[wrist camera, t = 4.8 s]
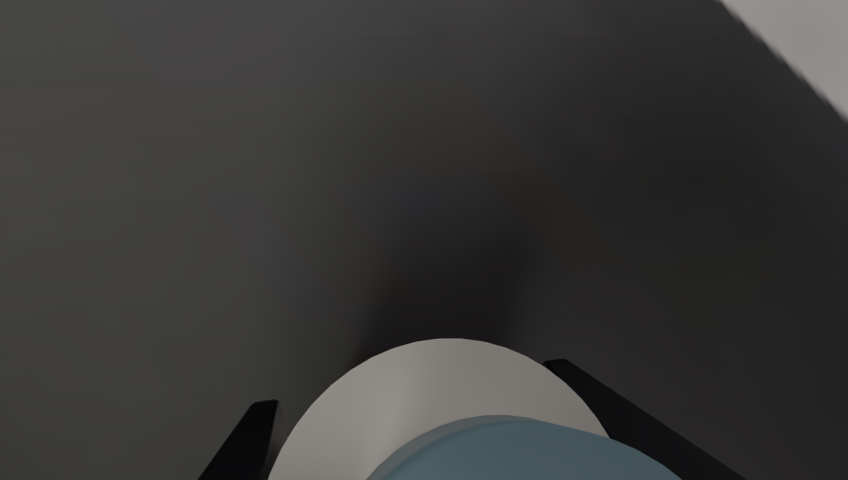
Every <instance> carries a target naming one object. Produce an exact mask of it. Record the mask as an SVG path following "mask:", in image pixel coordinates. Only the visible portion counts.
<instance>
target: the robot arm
mask: <svg viewBox="0 0 848 480" xmlns="http://www.w3.org/2000/svg"><path fill="white" fill-rule="evenodd" d="M542 366H544V367H545V368H547V369H548V370H549V371H551V372H552V373H553V374H555V375H556V376H557V377H558V378H560V379H561V380H562V381H564V382H565V383H566V384H567V385H568V386H569V387H570V388H571V389H572V390H573V391H574V392H575V393H576V394H577V395H578V396H579V397H580V398H581V399H582V400H583V401H584V403H585V404H586V405H587V406H588V407H589V409H590V410H591V411H592V412H593V414H594V415H595V416H596V417H597V419H598V420H599V422H600V424H601V425H602V427H603V428H604V430H605V432H606V433H607V435H608V436H609V438H611V439H613V440H615V441H618V442H620V443H622V444H625V445H627V446H629V447H632V448H634V449H637V450H638V451H640V452H642V453H643V454H645V455H647V456H648V457H650V458H652V459H654V460H655V461H657V462H659V463H660V464H662V465H664V466H665V467H666V468H667V469H669V470H670V471H671V472H673V473H674V474H675V475H677V476H678V477H679V478H681V479H682V480H746V479H745V478H743V477H742V476H740V475H739V474H737V473H736V472H734V471H733V470H731V469H730V468H728V467H727V466H725V465H724V464H722V463H721V462H719V461H718V460H716V459H715V458H713V457H712V456H710V455H709V454H707V453H706V452H704V451H703V450H701V449H700V448H698V447H697V446H695V445H694V444H692V443H691V442H689V441H688V440H686V439H685V438H683V437H682V436H680V435H679V434H677V433H676V432H674V431H673V430H671V429H670V428H668V427H667V426H665V425H664V424H662V423H661V422H659V421H658V420H656V419H655V418H653V417H652V416H650V415H649V414H647V413H646V412H644V411H643V410H641V409H640V408H638V407H637V406H635V405H634V404H632V403H631V402H629V401H628V400H626V399H625V398H623V397H622V396H620V395H619V394H617V393H616V392H614V391H613V390H611V389H610V388H608V387H607V386H605V385H604V384H602V383H601V382H599V381H598V380H596V379H595V378H593V377H592V376H590V375H589V374H587V373H586V372H584V371H583V370H581V369H580V368H578V367H577V366H575V365H574V364H572V363H571V362H569V361H568V360H565V359H556V360H549V361H545V362H543V364H542ZM286 440H287V433H286V428H285V423H284V419H283V414H282V410H281V405H280V403H279V401H278V400H275V399H274V400H267V401H260V402H255V403H253V404H252V405H251V406H250V407H249V409H248V410H247V412H246V413H245V414H244V416H243V417H242V419H241V420H240V421H239V423H238V424H237V426H236V427H235V428H234V430H233V431H232V432H231V434H230V435H229V437H228V438H227V439H226V441H225V442H224V444H223V445H222V446H221V448H220V449H219V451H218V452H217V453H216V455H215V456H214V458H213V459H212V460H211V462H210V463H209V465H208V466H207V467H206V469H205V470H204V472H203V473H202V474H201V476H200V477H199V479H198V480H268V478H269V475H270V473H271V470H272V468H273V466H274V464H275V462H276V459H277V457H278V455H279V453H280V451H281V449H282V447H283V445H284V444H285V442H286Z"/></svg>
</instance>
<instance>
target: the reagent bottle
mask: <svg viewBox="0 0 848 480" xmlns="http://www.w3.org/2000/svg"><path fill="white" fill-rule="evenodd" d="M268 480H682V479H681V478H679V477H678V476H677V475H675V474H674V473H673V472H671V471H670V470H669V469H667V468H666V467H665V466H664V465H662V464H660V463H659V462H657V461H655V460H654V459H652V458H650V457H648V456H647V455H645V454H643V453H642V452H640V451H638V450H637V449H634V448H632V447H629V446H627V445H625V444H622V443H620V442H618V441H615V440H613V439H611V438H609V436H608V435H607V433H606V432H605V430H604V428H603V427H602V425H601V424H600V422H599V420H598V419H597V417H596V416H595V415H594V414H593V412H592V411H591V410H590V409H589V407H588V406H587V405H586V404H585V403H584V401H583V400H582V399H581V398H580V397H579V396H578V395H577V394H576V393H575V392H574V391H573V390H572V389H571V388H570V387H569V386H568V385H567V384H566V383H565V382H564V381H562V380H561V379H560V378H558V377H557V376H556V375H555V374H553V373H552V372H551V371H549V370H548V369H547V368H545V367H544V366H542V365H540V364H538V363H537V362H535V361H533V360H532V359H530V358H528V357H526V356H524V355H522V354H519V353H517V352H515V351H512V350H510V349H508V348H505V347H502V346H498V345H494V344H491V343H487V342H483V341H476V340H468V339H433V340H425V341H418V342H414V343H410V344H406V345H403V346H399V347H396V348H393V349H390V350H388V351H386V352H383V353H381V354H379V355H376V356H374V357H372V358H370V359H368V360H367V361H365V362H363V363H362V364H360V365H358V366H357V367H355V368H353V369H351V370H350V371H349V372H348V373H346V374H345V375H344V376H342V377H341V378H340V379H339V380H337V381H336V382H335V383H333V384H332V385H331V386H330V387H329V388H328V389H327V390H326V391H325V392H324V393H323V394H322V395H321V396H320V397H319V398H318V399H317V400H316V401H315V402H314V403H313V404H312V405H311V406H310V408H309V409H308V410H307V412H306V413H305V414H304V415H303V417H302V418H301V419H300V420H299V422H298V423H297V424H296V426H295V427H294V429H293V431H292V432H291V434H290V436H289V437H288V439H287V440H286V442H285V444H284V445H283V447H282V449H281V451H280V453H279V455H278V457H277V459H276V462H275V464H274V466H273V468H272V470H271V473H270V475H269V478H268Z"/></svg>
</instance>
